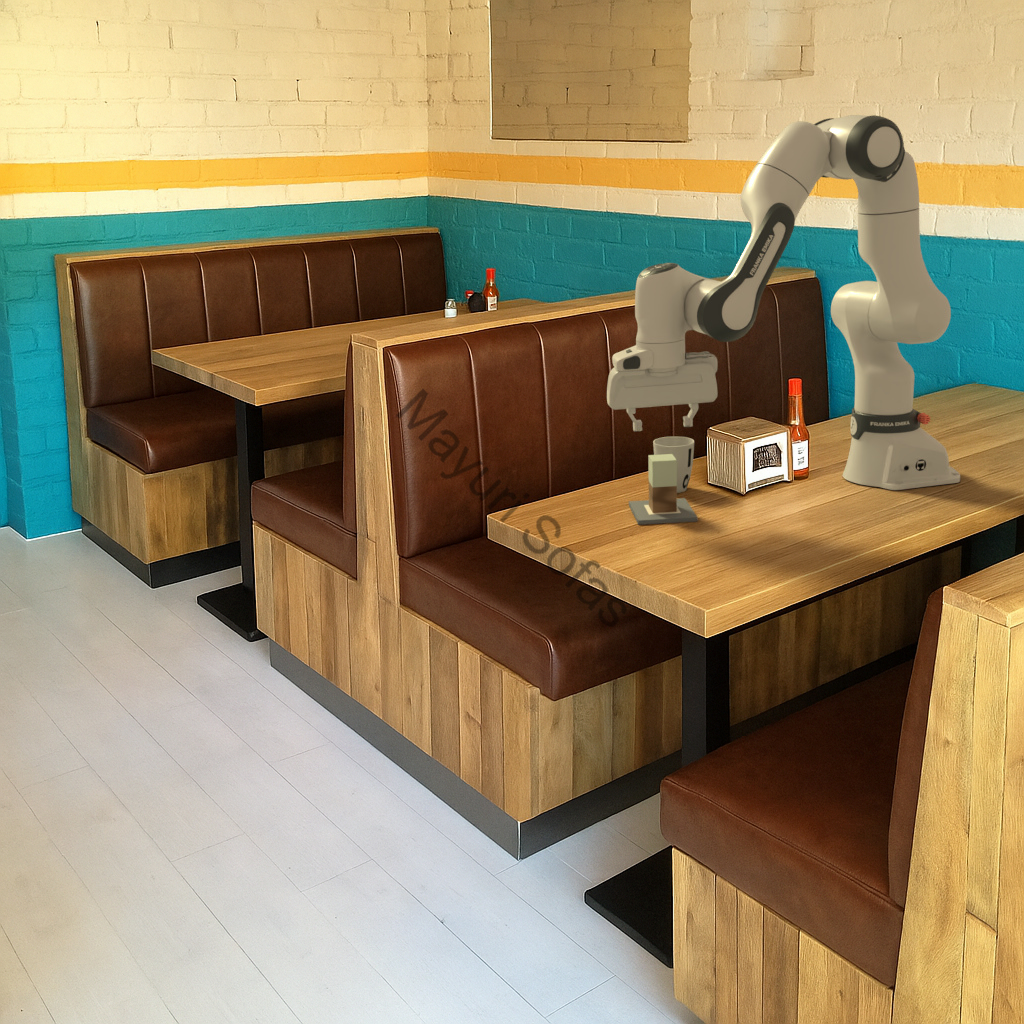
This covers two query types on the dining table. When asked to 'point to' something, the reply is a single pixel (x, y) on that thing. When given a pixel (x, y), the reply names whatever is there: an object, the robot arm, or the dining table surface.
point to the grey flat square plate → (647, 517)
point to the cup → (678, 456)
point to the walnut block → (663, 499)
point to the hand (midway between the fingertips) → (662, 428)
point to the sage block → (662, 470)
